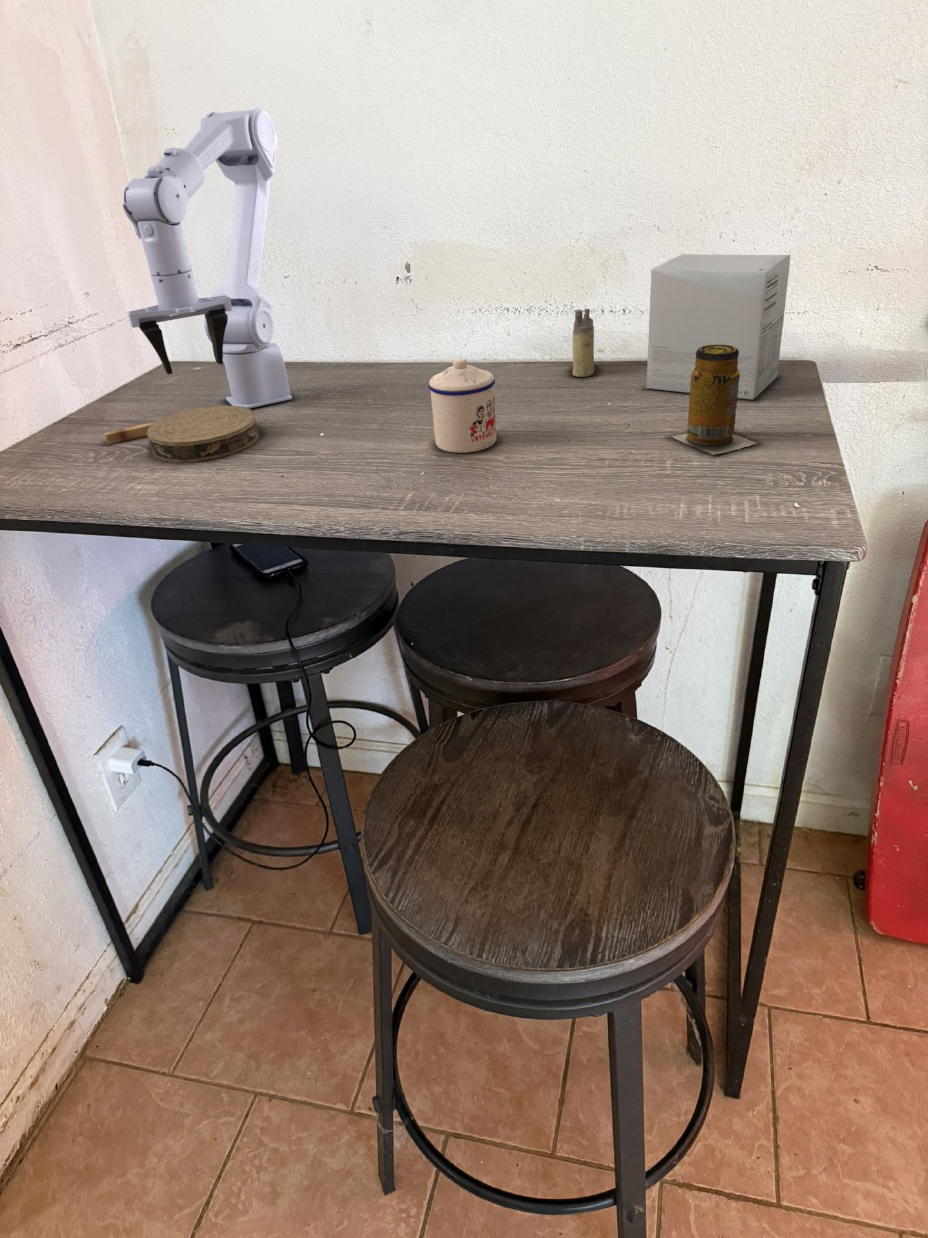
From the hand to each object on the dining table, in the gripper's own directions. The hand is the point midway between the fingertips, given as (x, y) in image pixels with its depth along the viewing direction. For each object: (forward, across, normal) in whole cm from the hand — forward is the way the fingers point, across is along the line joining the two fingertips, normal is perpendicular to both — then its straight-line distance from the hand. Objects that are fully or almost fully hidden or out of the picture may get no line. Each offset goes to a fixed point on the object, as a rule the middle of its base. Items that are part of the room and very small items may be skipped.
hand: (194, 367), depth 127 cm
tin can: (+10, -2, -6) cm, 12 cm away
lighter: (+10, +61, -14) cm, 64 cm away
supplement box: (+10, +72, -33) cm, 80 cm away
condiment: (+10, +56, -52) cm, 77 cm away
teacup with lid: (+10, +30, -30) cm, 44 cm away
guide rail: (+10, -6, +4) cm, 12 cm away
